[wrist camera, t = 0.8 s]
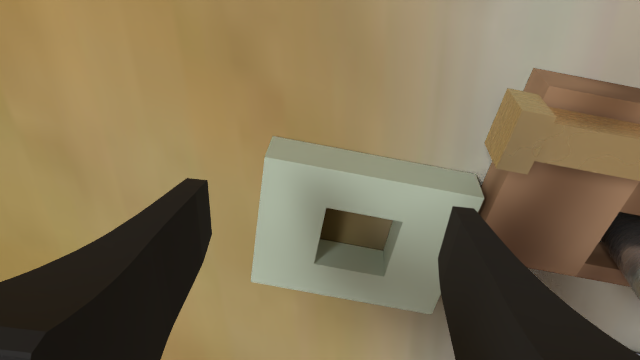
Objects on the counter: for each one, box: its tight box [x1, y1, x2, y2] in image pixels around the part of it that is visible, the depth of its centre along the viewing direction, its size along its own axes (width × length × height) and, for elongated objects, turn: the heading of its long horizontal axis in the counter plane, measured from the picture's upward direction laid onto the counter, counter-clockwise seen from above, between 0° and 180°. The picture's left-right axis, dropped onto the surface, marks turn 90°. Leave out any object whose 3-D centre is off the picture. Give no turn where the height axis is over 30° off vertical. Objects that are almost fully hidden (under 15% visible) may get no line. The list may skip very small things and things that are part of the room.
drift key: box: [485, 88, 640, 181], centre depth 17 cm, size 7×2×2 cm, turn 81°
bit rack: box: [251, 136, 484, 315], centre depth 23 cm, size 10×8×2 cm
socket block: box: [478, 68, 640, 287], centre depth 21 cm, size 10×9×2 cm
